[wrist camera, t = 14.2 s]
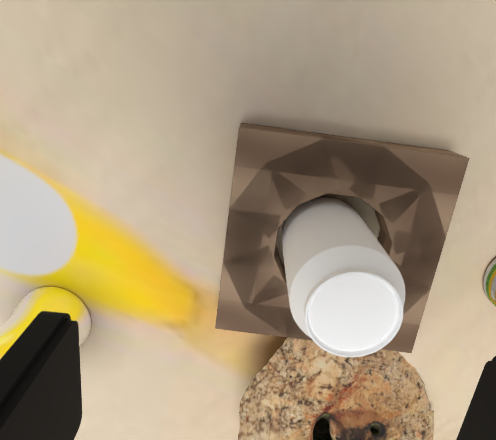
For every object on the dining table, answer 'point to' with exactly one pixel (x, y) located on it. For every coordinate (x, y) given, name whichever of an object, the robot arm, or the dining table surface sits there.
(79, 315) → the beer glass
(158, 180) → the dining table surface
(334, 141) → the can holder
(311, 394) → the holed granite stone
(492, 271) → the supplement bottle
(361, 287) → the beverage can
